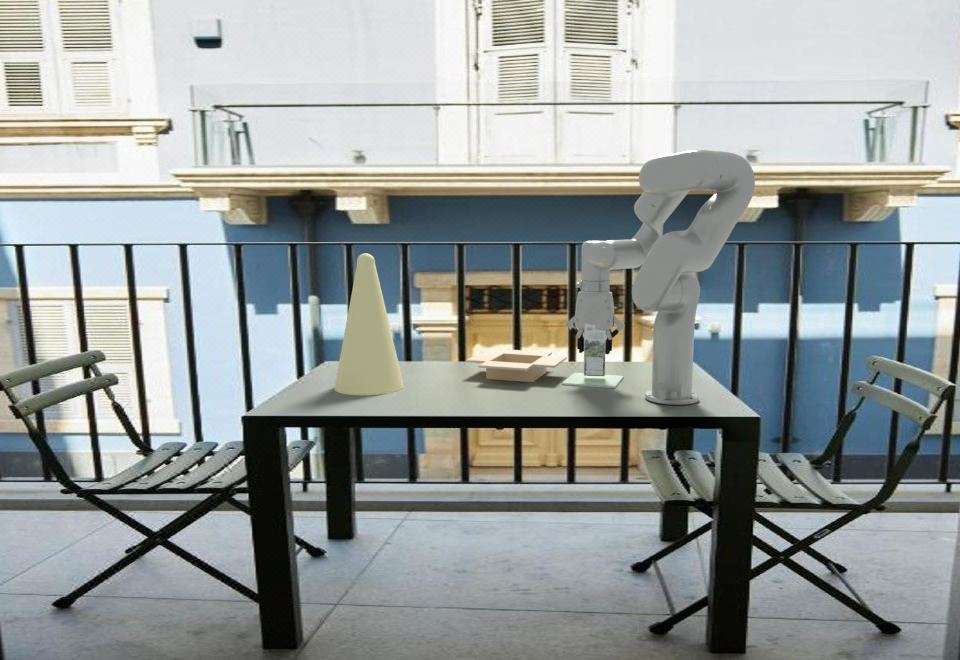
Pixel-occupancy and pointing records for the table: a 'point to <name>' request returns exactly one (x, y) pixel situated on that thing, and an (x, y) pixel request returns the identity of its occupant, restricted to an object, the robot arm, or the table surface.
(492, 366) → the kraft carton
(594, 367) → the syrup box
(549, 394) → the table surface
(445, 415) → the table surface
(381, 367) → the cone light
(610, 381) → the sage rubber mat
